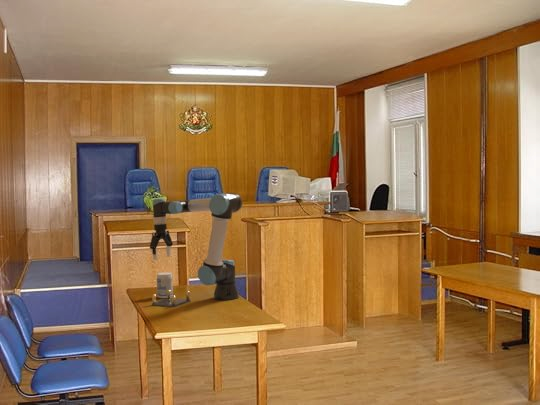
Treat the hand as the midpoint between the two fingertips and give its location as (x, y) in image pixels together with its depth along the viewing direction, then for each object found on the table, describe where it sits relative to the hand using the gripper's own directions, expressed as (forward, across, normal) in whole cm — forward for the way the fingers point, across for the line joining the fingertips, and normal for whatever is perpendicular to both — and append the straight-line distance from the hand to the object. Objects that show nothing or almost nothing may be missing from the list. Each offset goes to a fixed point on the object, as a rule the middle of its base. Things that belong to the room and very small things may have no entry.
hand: (162, 258), depth 376 cm
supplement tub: (+24, 0, 0) cm, 24 cm away
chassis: (+24, +14, +15) cm, 32 cm away
